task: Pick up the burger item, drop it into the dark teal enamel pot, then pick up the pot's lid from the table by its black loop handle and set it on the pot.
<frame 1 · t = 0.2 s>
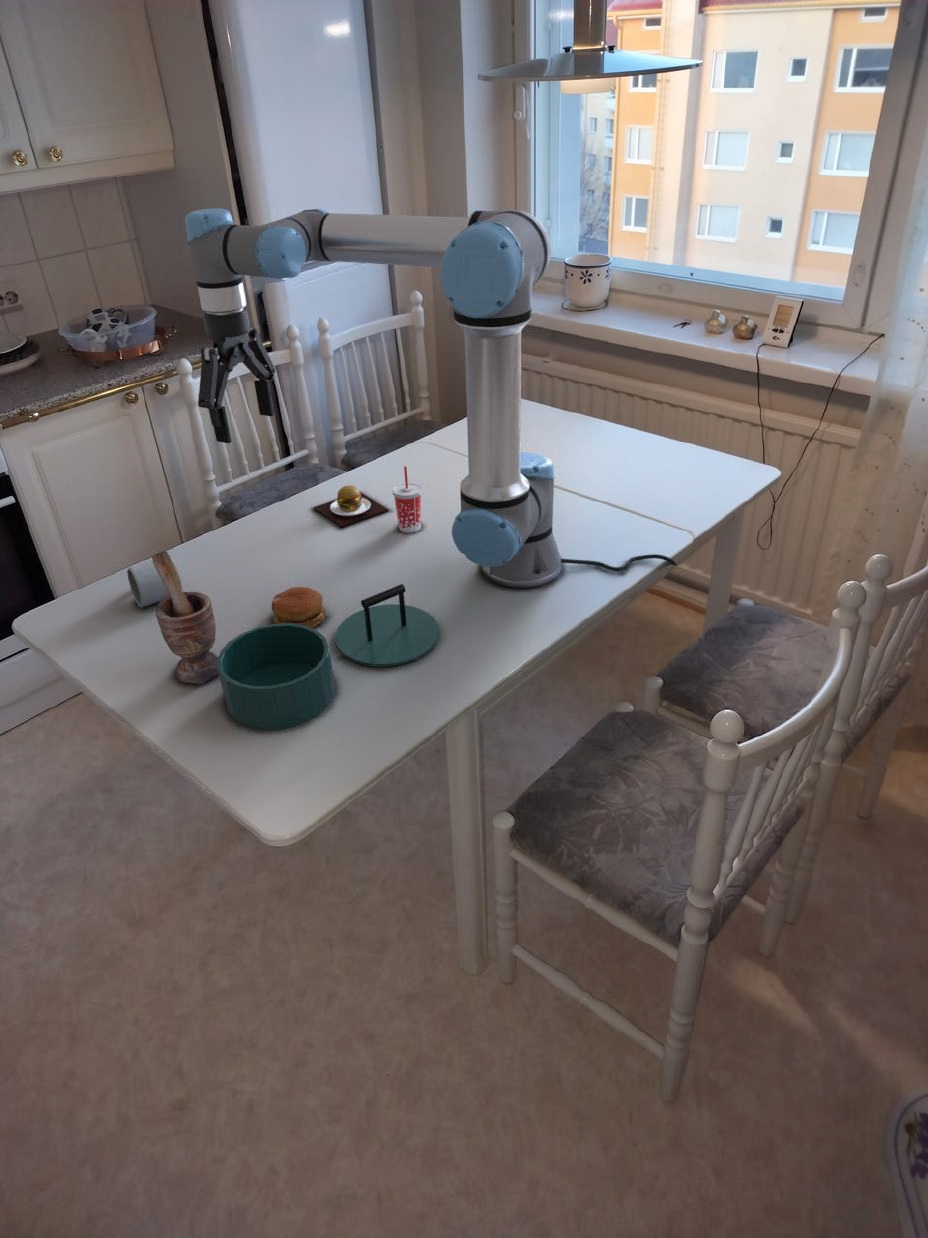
hand: (246, 428, 160), 28 cm above the table, tool pointing down, fingers open, 13 cm apart
pot: (281, 694, 139), on the table
lid: (387, 634, 151), point 1 cm above the table
ceramic mug: (156, 597, 165), on the table
burger: (299, 618, 157), on the table
hamburger: (351, 510, 192), on the table
mortar and pestle: (193, 668, 146), on the table
beverage cup: (410, 528, 184), on the table
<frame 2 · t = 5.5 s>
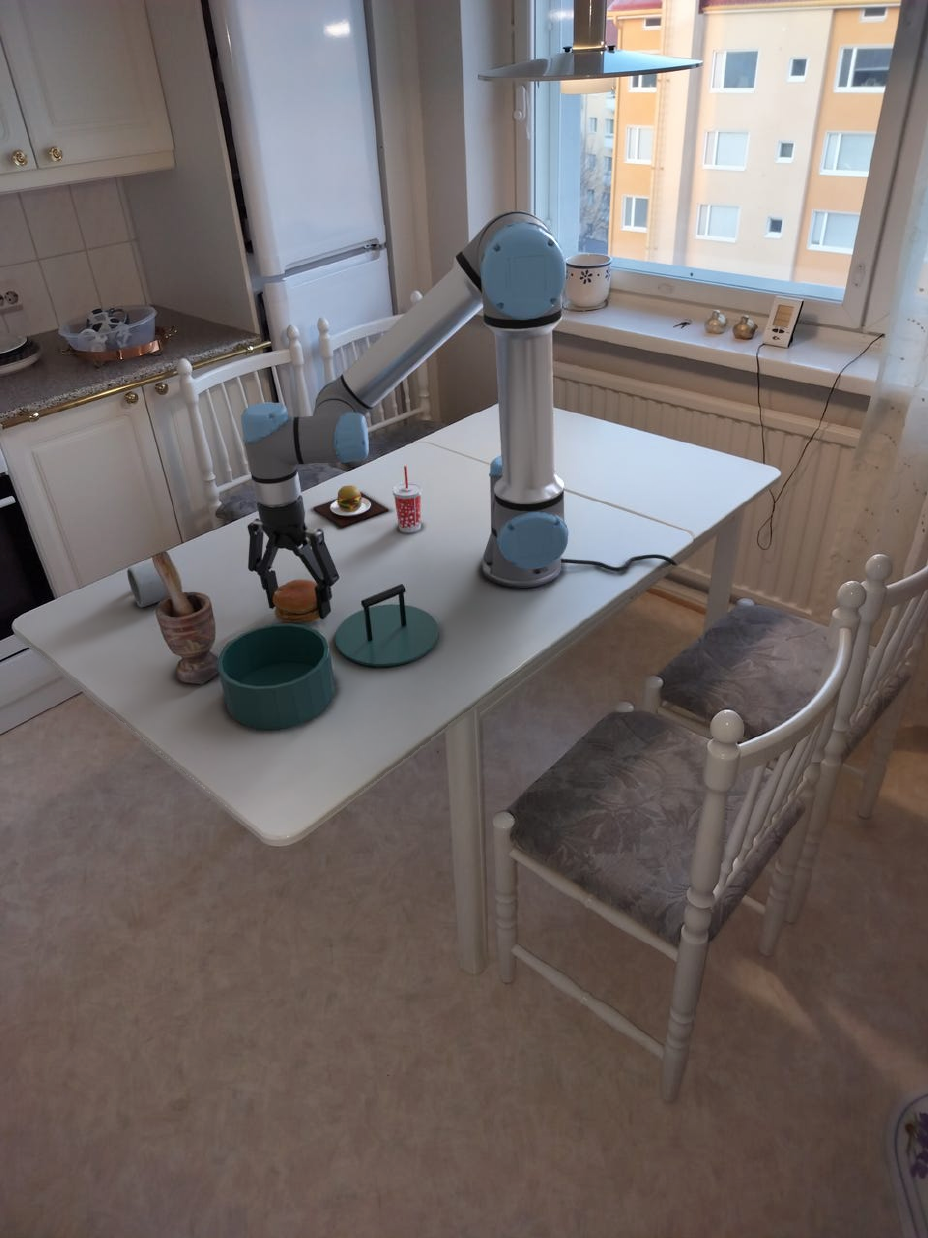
hand: (300, 609, 156), 2 cm above the table, tool pointing down, fingers closed on burger, 10 cm apart
burger: (300, 611, 156), point 1 cm above the table, touching gripper
everything else where it was.
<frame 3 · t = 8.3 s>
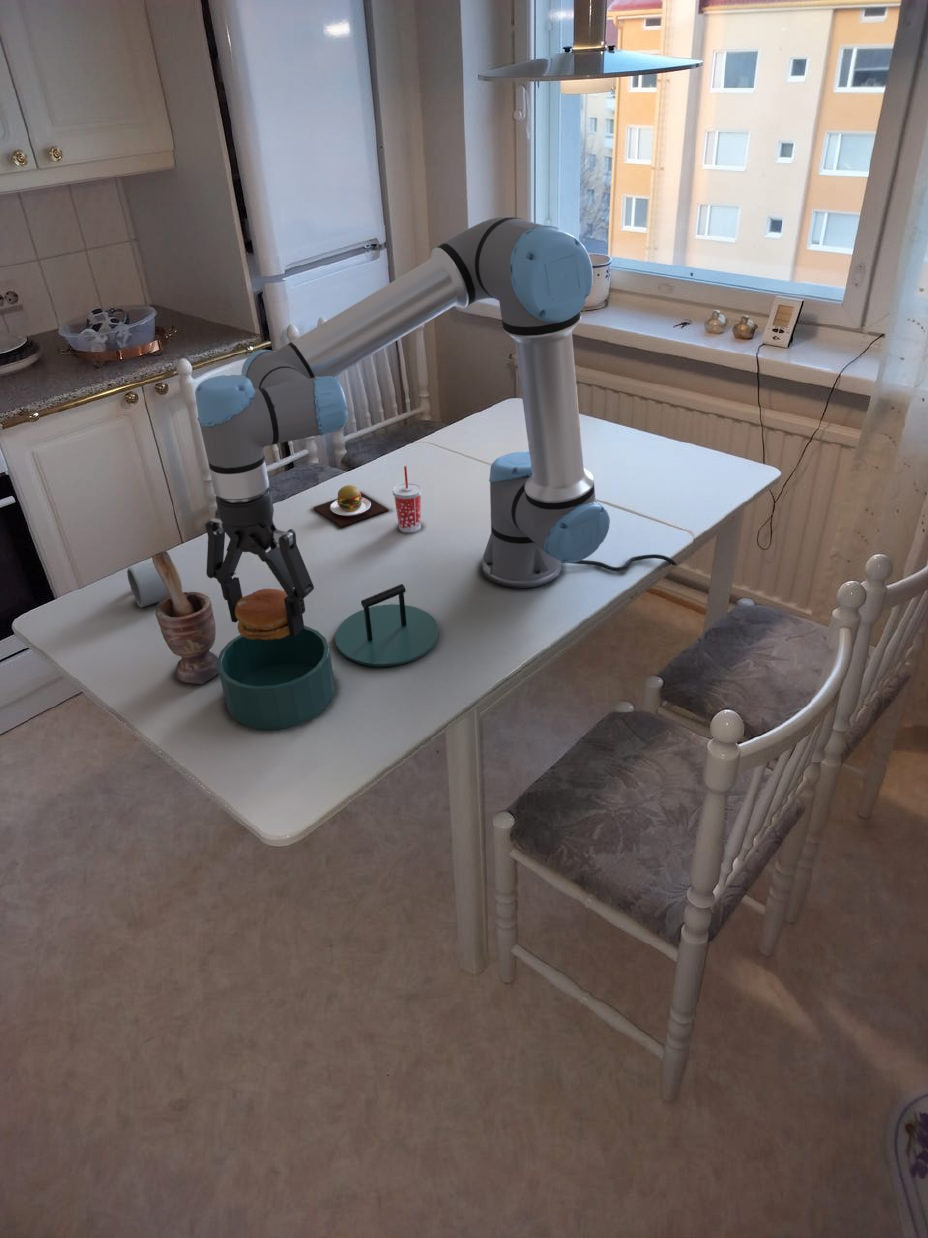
hand: (267, 624, 132), 13 cm above the table, tool pointing down, fingers closed on burger, 10 cm apart
burger: (268, 626, 132), point 13 cm above the table, touching gripper
everything else where it was.
when the fingers open (4 cm above the table, at t = 11.0 s): burger drops 3 cm, resting on pot.
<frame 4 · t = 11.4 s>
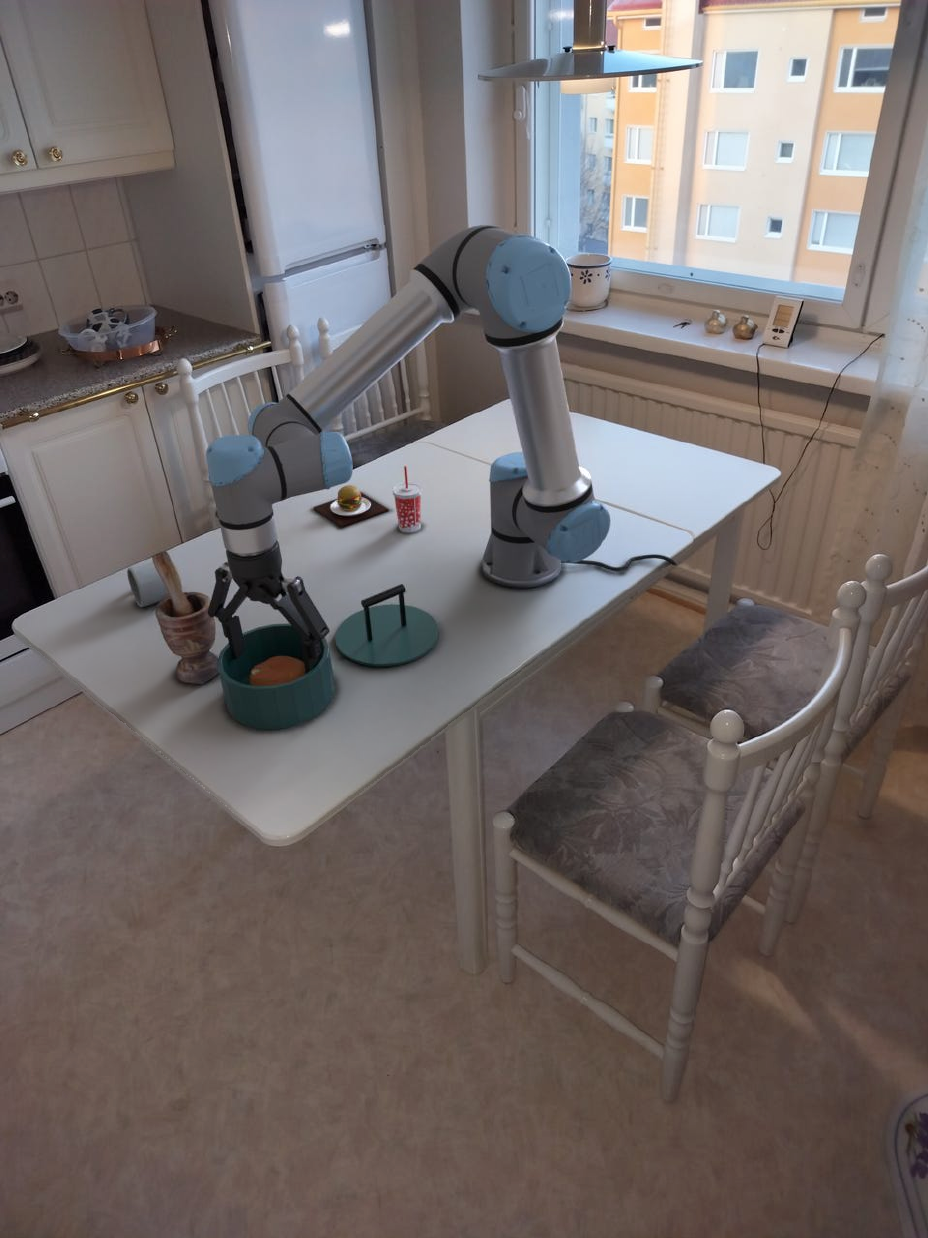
hand: (275, 663, 135), 6 cm above the table, tool pointing down, fingers open, 13 cm apart
burger: (281, 692, 139), resting on pot
everything else where it was.
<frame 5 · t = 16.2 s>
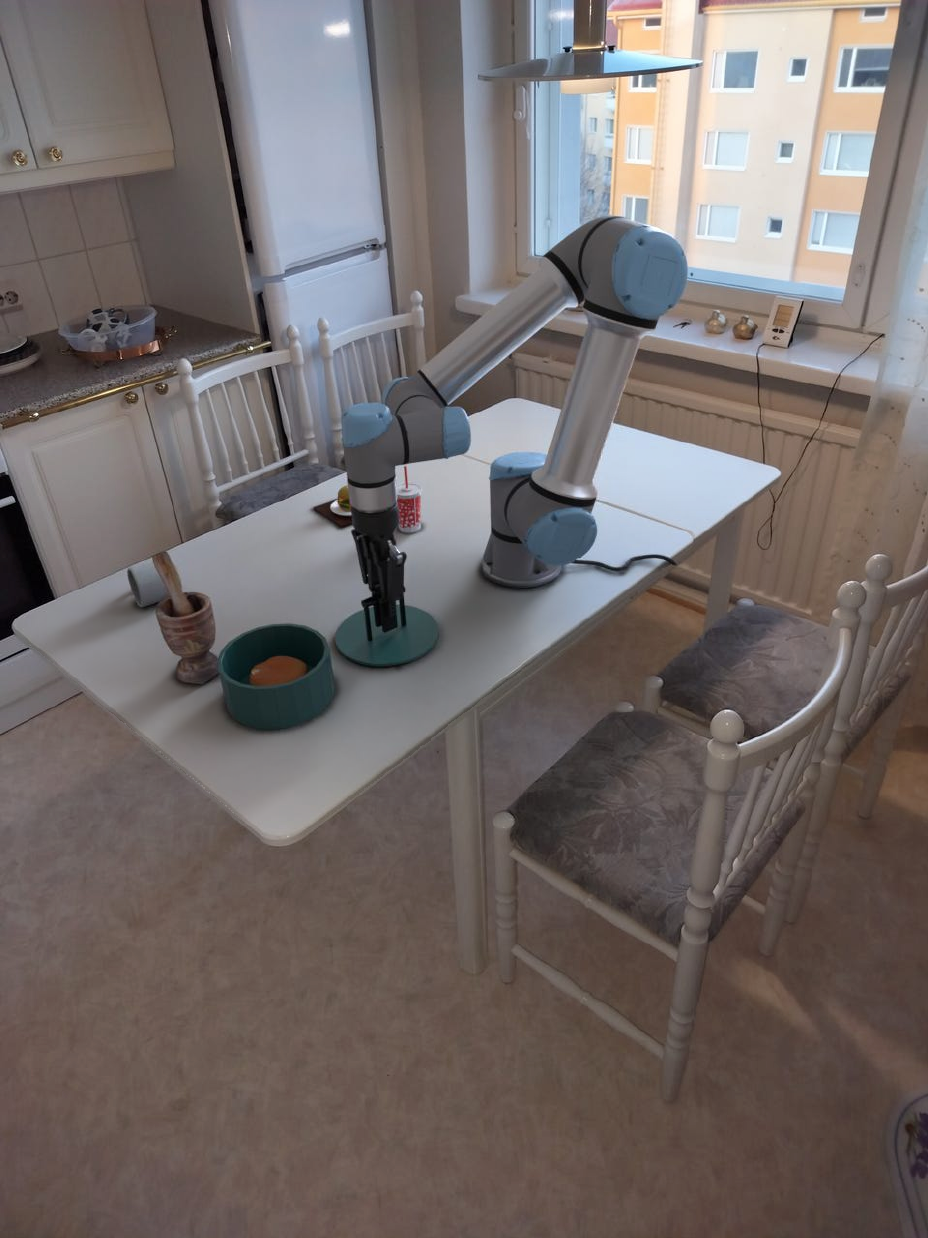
hand: (386, 626, 150), 2 cm above the table, tool pointing down, fingers closed on lid, 1 cm apart
lid: (387, 634, 151), point 1 cm above the table, touching gripper
everything else where it was.
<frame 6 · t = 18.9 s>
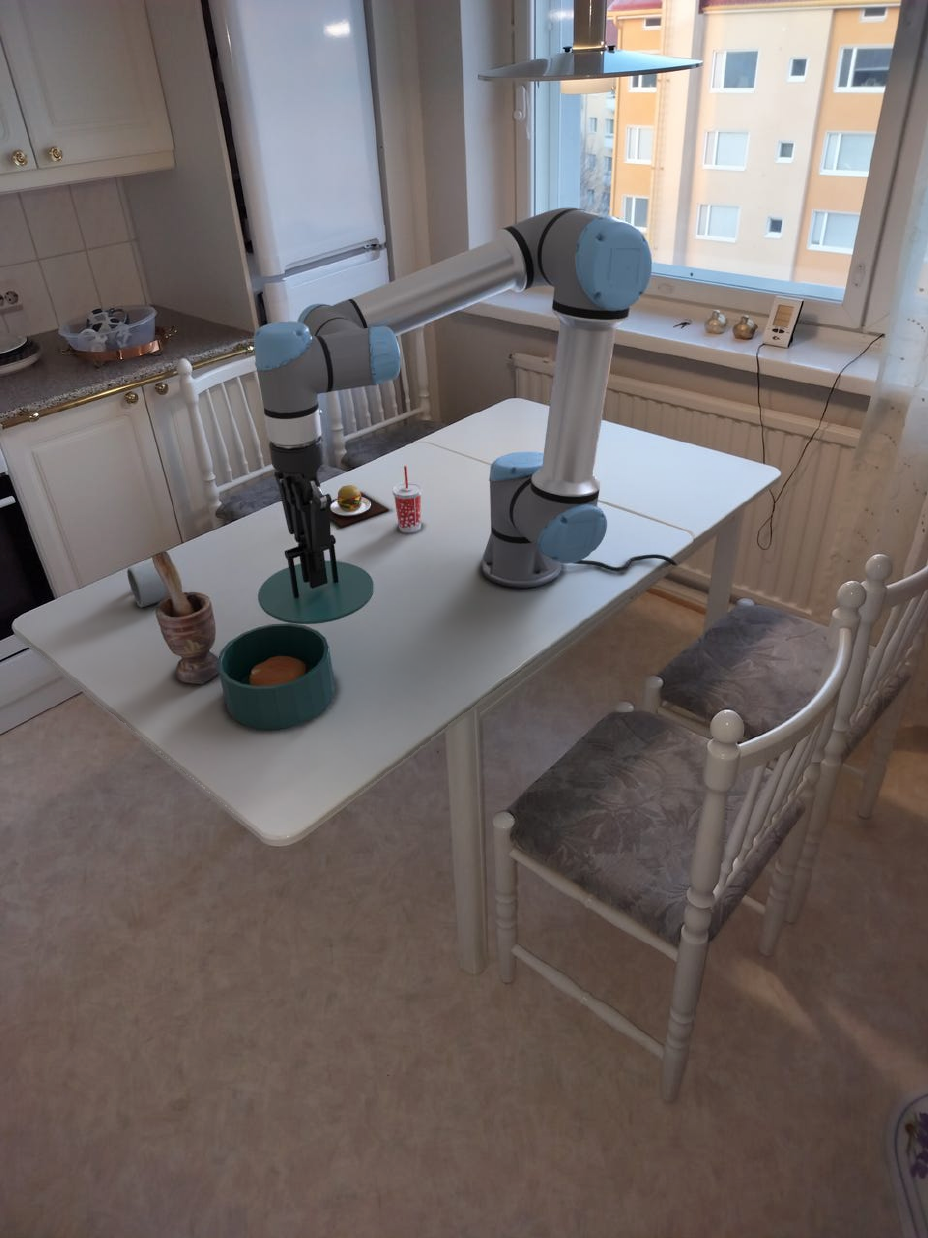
hand: (315, 581, 135), 17 cm above the table, tool pointing down, fingers closed on lid, 1 cm apart
lid: (316, 591, 136), point 15 cm above the table, touching gripper
everything else where it was.
when the fingers open (10 cm above the table, at t = 21.5 s): lid stays where it is, resting on pot.
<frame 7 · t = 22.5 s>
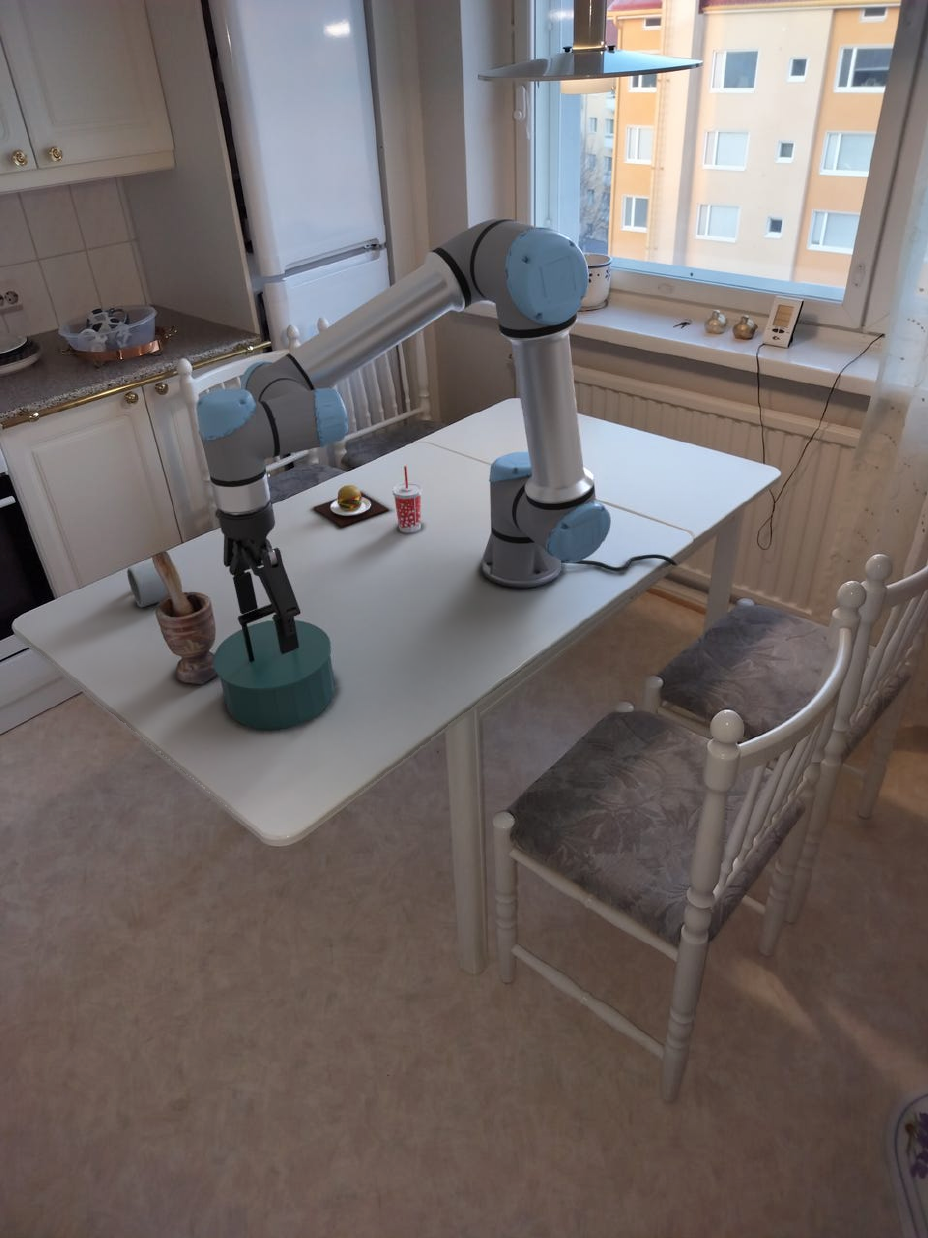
hand: (268, 629, 132), 13 cm above the table, tool pointing down, fingers open, 13 cm apart
lid: (273, 654, 134), point 8 cm above the table, touching pot
everything else where it was.
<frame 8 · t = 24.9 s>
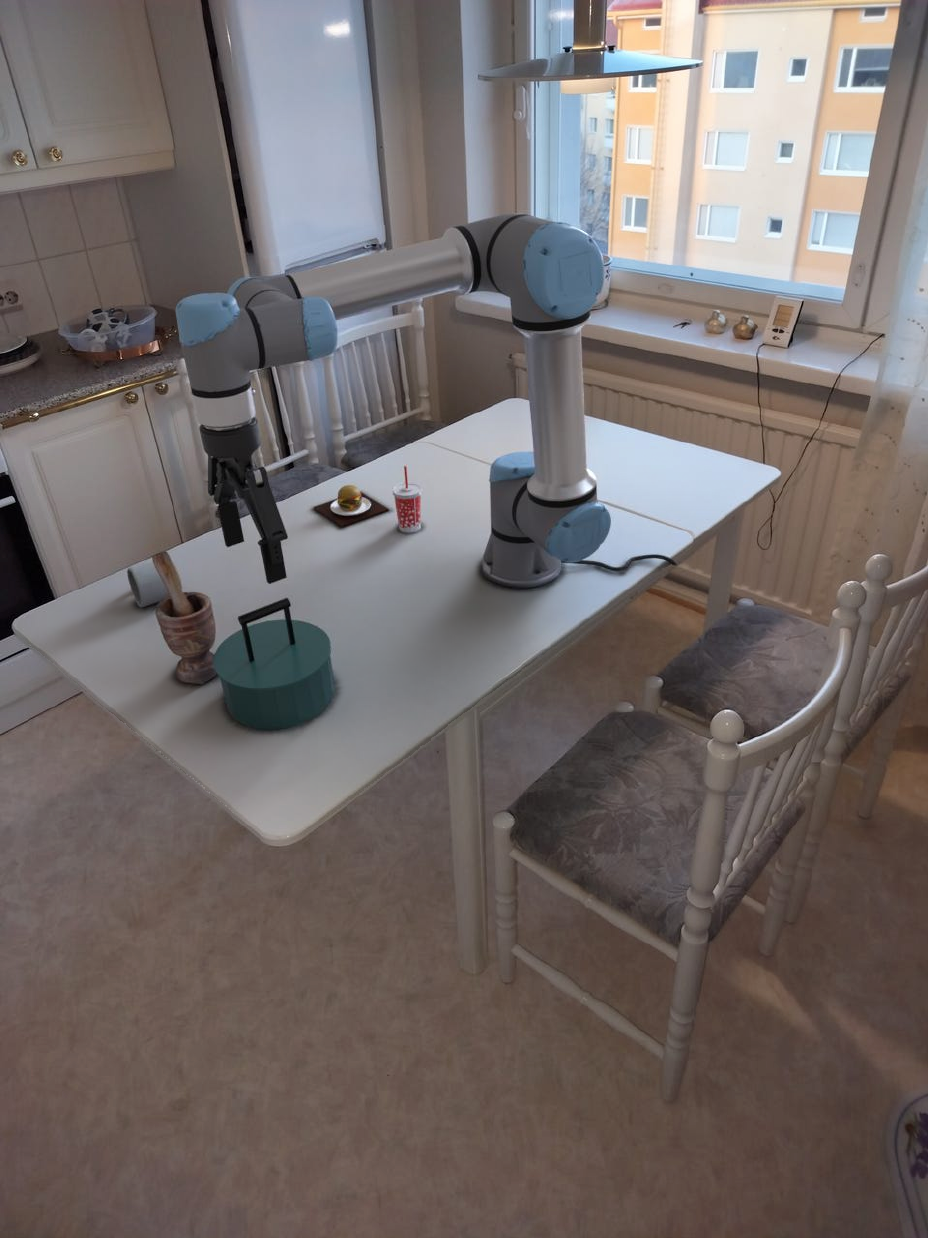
hand: (255, 561, 125), 25 cm above the table, tool pointing down, fingers open, 13 cm apart
nothing on the table moved.
at the end: burger inside the target area in the pot (0.1 cm from its centre), point 0.3 cm above the pot's base; lid 0.0 cm off-centre on the pot, point 8.0 cm above the pot's base; lid tilted 0° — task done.
